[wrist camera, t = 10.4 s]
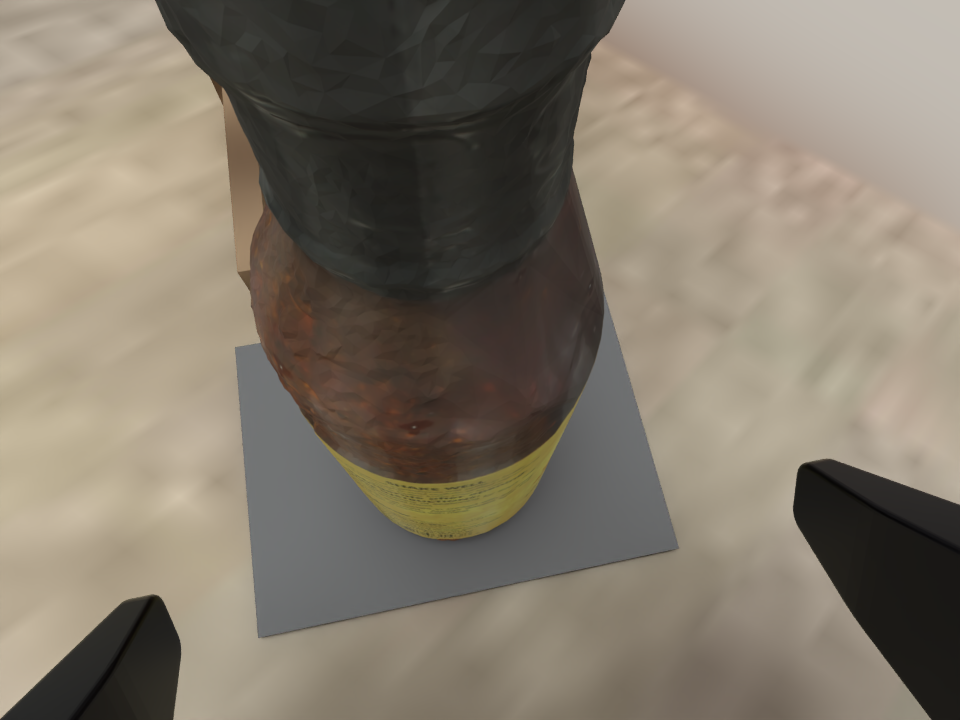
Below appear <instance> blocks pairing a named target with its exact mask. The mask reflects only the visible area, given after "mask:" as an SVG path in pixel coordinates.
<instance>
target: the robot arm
mask: <svg viewBox="0 0 960 720" xmlns="http://www.w3.org/2000/svg"><path fill="white" fill-rule="evenodd" d="M793 513H794V518H795V521H796V523H797V525H798V527H799V529H800V531H801V532H802V534H803V535H804V537H805V539H806V540H807V542H808V544H809V545H810V547H811V549H812V550H813V552H814V553H815V555H816V557H817V558H818V560H819V562H820V563H821V565H822V566H823V568H824V570H825V571H826V573H827V575H828V576H829V578H830V579H831V581H832V583H833V584H834V586H835V588H836V589H837V591H838V593H839V594H840V596H841V597H842V599H843V601H844V602H845V604H846V605H847V607H848V608H849V610H850V611H851V613H852V614H853V616H854V617H855V619H856V620H857V621H858V623H859V624H860V626H861V627H862V628H863V630H864V631H865V633H866V634H867V635H868V636H869V638H870V639H871V640H872V642H873V643H874V644H875V646H876V647H877V648H878V650H879V651H880V652H881V654H882V655H883V656H884V658H885V659H886V660H887V662H888V663H889V664H890V666H891V667H892V668H893V669H894V671H895V672H896V673H897V675H898V676H899V677H900V679H901V680H902V681H903V683H904V684H905V685H906V687H907V688H908V689H909V691H910V692H911V693H912V695H913V696H914V697H915V699H916V700H917V701H918V702H919V704H920V705H921V706H922V708H923V709H924V710H925V712H926V713H927V714H928V716H929V717H930V718H931V720H960V505H959V504H956V503H953V502H950V501H947V500H945V499H942V498H939V497H936V496H933V495H931V494H928V493H925V492H922V491H919V490H917V489H914V488H911V487H908V486H905V485H903V484H900V483H897V482H894V481H891V480H889V479H886V478H883V477H880V476H877V475H875V474H872V473H869V472H866V471H863V470H861V469H858V468H855V467H852V466H849V465H847V464H844V463H841V462H838V461H835V460H832V459H821V460H816V461H811V462H806V463H804V464H802V465H801V466H800V467H799V469H798V472H797V479H796V487H795V496H794V504H793ZM180 661H181V643H180V639H179V636H178V634H177V631H176V629H175V627H174V624H173V622H172V620H171V618H170V615H169V613H168V611H167V608H166V606H165V604H164V602H163V600H162V599H161V598H160V597H159V596H157V595H147V596H142V597H137V598H132V599H128V600H126V601H124V602H122V603H121V604H120V605H119V606H118V607H117V608H115V609H114V610H113V611H112V612H111V613H110V614H109V615H108V616H107V617H106V618H105V619H104V620H103V621H102V622H101V623H100V624H99V625H98V626H97V627H96V628H95V629H94V630H93V631H91V632H90V633H89V634H88V635H87V636H86V637H85V638H84V639H83V640H82V641H81V642H80V643H79V644H78V645H77V646H76V647H75V648H74V649H73V650H72V651H71V652H70V653H69V654H68V655H66V656H65V657H64V658H63V659H62V660H61V661H60V662H59V663H58V664H57V665H56V666H55V667H54V668H53V669H52V670H51V671H50V672H49V673H48V674H47V675H46V676H45V677H44V678H42V679H41V680H40V681H39V682H38V683H37V684H36V685H35V686H34V687H33V688H32V689H31V690H30V691H29V692H28V693H27V694H26V695H25V696H24V697H23V698H22V699H21V700H20V701H19V702H17V703H16V704H15V705H14V706H13V707H12V708H11V709H10V710H9V711H8V712H7V713H6V714H5V715H4V716H3V717H2V718H1V719H0V720H173V717H174V709H175V701H176V693H177V685H178V677H179V669H180Z"/></svg>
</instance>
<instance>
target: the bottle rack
mask: <svg viewBox="0 0 960 720" xmlns="http://www.w3.org/2000/svg"><path fill="white" fill-rule="evenodd" d="M210 78H211V77H210ZM211 80H212V83H213V85H214V87H215V89H216V91H217V93H218V95H219V98H220V100H221V102H222V104H223V107H224V119H225V131H226V142H227V154H228V166H229V178H230V190H231V202H232V213H233V225H234V237H235V249H236V261H237V272H238V274H239V275H240V277H241V278H242V280H243V281H244V283H245V284H246V286H247V287H248V289H249V290H250V289H251V288H250V270H251V269H250V246H251V242H252V237H253V233H254V231H255V228H256V226H257V224H258V222H259V220H260V218H261V216H262V213H263V211H264V208H265V205H266V202H265V199H264V196H263V193H262V190H261V188H260V185H259V171H260V165H259V164H258V162H257V160H256V158H255V155H254V153H253V150H252V148H251V146H250V143H249V141H248V139H247V137H246V136H245V133H244V131H243V129H242V127H241V125H240V123H239V121H238V119H237V116H236V114H235V112H234V109H233V107H232V104H231V102H230V99H229V97H228V95H227V93H226V92H225V90H224V88H223V87H221V86H220V85H219V84H218V83H217V82H215V81H214V80H213V79H212V78H211Z"/></svg>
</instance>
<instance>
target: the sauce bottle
mask: <svg viewBox="0 0 960 720" xmlns="http://www.w3.org/2000/svg"><path fill="white" fill-rule="evenodd" d="M155 1H156V3H157V6H158V8H159V10H160V12H161V15H162V17H163V19H164V21H165V24H166V26H167V28H168V30H169V31H170V32H171V33H172V34H173V35H174V36H175V37H176V38H177V39H178V40H179V42H180V43H181V44H182V45H183V46H184V47H185V49H186V50H187V52H188V53H189V55H190V56H191V58H192V59H193V61H194V62H195V64H196V65H197V66H198V67H200V68H201V69H202V70H203V71H204V72H205V73H206V74H207V75H208V76H210V77H211V78H212V79H213V80H214V81H215V82H217V83H218V84H219V85H220V86H221V87H223V88H224V90H225V92H226V93H227V95H228V97H229V99H230V102H231V104H232V107H233V109H234V112H235V114H236V116H237V119H238V121H239V123H240V125H241V127H242V129H243V131H244V133H245V136H246V137H247V139H248V141H249V143H250V146H251V148H252V150H253V153H254V155H255V158H256V160H257V162H258V164H259V165H260V171H259V185H260V188H261V190H262V193H263V196H264V199H265V202H266V205H265V208H264V211H263V213H262V216H261V218H260V220H259V222H258V224H257V226H256V228H255V231H254V233H253V237H252V242H251V246H250V269H251V270H250V288H251V289H250V294H251V307H252V309H253V312H254V317H255V322H256V328H257V332H258V335H259V337H260V341H261V346H262V348H263V350H264V352H265V354H266V356H267V359H268V360H269V361H270V363H271V365H272V367H273V368H274V369H275V371H276V372H277V375H278V377H279V380H280V382H281V383H282V385H283V387H284V389H286V390H287V391H288V392H289V393H290V394H291V396H292V397H293V399H294V401H295V402H296V404H298V407H299V409H300V411H301V413H302V415H303V416H304V417H305V419H306V420H307V421H308V423H309V424H310V425H311V426H312V428H313V429H314V432H315V434H316V435H317V436H318V437H319V439H320V440H321V441H322V442H323V444H324V445H325V446H326V447H327V449H328V450H329V451H330V452H331V453H332V455H333V456H334V457H335V458H336V459H337V461H338V462H339V463H340V464H341V465H342V467H343V468H344V469H345V470H346V472H347V473H348V474H349V475H350V477H351V478H352V479H353V480H354V481H355V483H356V484H357V485H358V487H359V488H360V489H361V490H362V491H363V493H364V494H365V495H366V496H367V497H368V498H369V500H370V501H371V502H372V503H373V504H374V505H375V506H376V507H377V508H378V510H379V511H380V512H381V513H382V514H384V515H385V516H386V517H387V518H388V519H390V520H391V521H392V522H393V523H395V524H397V525H399V526H400V527H402V528H404V529H405V530H407V531H409V532H412V533H414V534H417V535H419V536H422V537H426V538H432V539H437V540H441V541H444V540H450V541H456V540H459V539H462V538H467V537H472V536H475V535H479V534H482V533H486V532H488V531H490V530H492V529H493V528H495V527H497V526H499V525H500V524H502V523H504V522H506V521H507V520H509V519H510V518H511V517H512V516H514V515H515V514H516V513H517V512H518V511H519V510H520V509H521V508H522V507H523V506H524V504H525V503H526V502H527V501H528V499H529V498H530V497H531V495H532V494H533V492H534V490H535V489H536V487H537V485H538V483H539V481H540V479H541V477H542V475H543V473H544V471H545V469H546V467H547V465H548V462H549V460H550V458H551V456H552V454H553V452H554V450H555V448H556V446H557V444H558V442H559V440H560V438H561V436H562V434H563V432H564V430H565V428H566V426H567V424H568V422H569V420H570V418H571V416H572V414H573V411H574V409H575V407H576V405H577V403H578V400H579V398H580V396H581V394H582V392H583V390H584V388H585V385H586V383H587V380H588V378H589V376H590V373H591V371H592V368H593V366H594V363H595V360H596V356H597V352H598V349H599V345H600V341H601V336H602V328H603V319H604V289H603V283H602V277H601V272H600V268H599V264H598V261H597V257H596V253H595V249H594V246H593V242H592V238H591V234H590V231H589V227H588V223H587V220H586V216H585V212H584V209H583V205H582V201H581V198H580V194H579V190H578V187H577V183H576V179H575V176H574V172H573V168H572V164H573V150H574V139H573V136H574V129H575V126H576V122H577V117H578V111H579V106H580V102H581V97H582V92H583V87H584V85H585V82H586V75H587V69H588V66H589V63H590V60H591V52H592V50H593V49H594V48H595V46H596V45H597V44H598V42H599V41H600V40H601V39H602V38H603V37H605V35H607V34H608V33H609V31H610V29H611V28H612V26H613V24H614V22H615V20H616V18H617V16H618V14H619V12H620V10H621V8H622V6H623V4H624V2H625V0H155Z"/></svg>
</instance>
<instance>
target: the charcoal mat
mask: <svg viewBox="0 0 960 720" xmlns="http://www.w3.org/2000/svg"><path fill="white" fill-rule="evenodd" d="M235 352H236V364H237V377H238V389H239V402H240V415H241V427H242V440H243V452H244V465H245V477H246V490H247V502H248V515H249V527H250V540H251V553H252V565H253V578H254V590H255V603H256V615H257V628H258V638H260V637H265V636H270V635H275V634H279V633H284V632H289V631H293V630H298V629H303V628H307V627H312V626H317V625H321V624H326V623H331V622H336V621H340V620H345V619H350V618H354V617H359V616H364V615H368V614H373V613H378V612H382V611H387V610H392V609H397V608H401V607H406V606H411V605H415V604H420V603H425V602H429V601H434V600H439V599H443V598H448V597H453V596H457V595H462V594H467V593H472V592H476V591H481V590H486V589H490V588H495V587H500V586H504V585H509V584H514V583H518V582H523V581H528V580H533V579H537V578H542V577H547V576H551V575H556V574H561V573H565V572H570V571H575V570H579V569H584V568H589V567H594V566H598V565H603V564H608V563H612V562H617V561H622V560H626V559H631V558H636V557H640V556H645V555H650V554H655V553H659V552H664V551H669V550H673V549H678V548H679V547H678V543H677V540H676V536H675V533H674V529H673V526H672V523H671V519H670V516H669V512H668V509H667V506H666V502H665V499H664V495H663V492H662V488H661V485H660V482H659V478H658V475H657V471H656V468H655V465H654V461H653V458H652V454H651V451H650V447H649V444H648V441H647V437H646V434H645V430H644V427H643V424H642V420H641V417H640V413H639V410H638V406H637V403H636V400H635V396H634V393H633V389H632V386H631V383H630V379H629V376H628V372H627V369H626V365H625V362H624V359H623V355H622V352H621V348H620V345H619V341H618V338H617V335H616V331H615V328H614V324H613V321H612V318H611V314H610V311H609V307H608V304H607V300H606V297H605V294H604V319H603V328H602V336H601V341H600V345H599V349H598V352H597V356H596V360H595V363H594V366H593V368H592V371H591V373H590V376H589V378H588V380H587V383H586V385H585V388H584V390H583V392H582V394H581V396H580V398H579V400H578V403H577V405H576V407H575V409H574V411H573V414H572V416H571V418H570V420H569V422H568V424H567V426H566V428H565V430H564V432H563V434H562V436H561V438H560V440H559V442H558V444H557V446H556V448H555V450H554V452H553V454H552V456H551V458H550V460H549V462H548V465H547V467H546V469H545V471H544V473H543V475H542V477H541V479H540V481H539V483H538V485H537V487H536V489H535V490H534V492H533V494H532V495H531V497H530V498H529V499H528V501H527V502H526V503H525V504H524V506H523V507H522V508H521V509H520V510H519V511H518V512H517V513H516V514H515V515H514V516H512V517H511V518H510V519H509V520H507V521H506V522H504V523H502V524H500V525H499V526H497V527H495V528H493V529H492V530H490V531H488V532H486V533H482V534H479V535H475V536H472V537H467V538H462V539H459V540H456V541H450V540H444V541H441V540H437V539H432V538H426V537H422V536H419V535H417V534H414V533H412V532H409V531H407V530H405V529H404V528H402V527H400V526H399V525H397V524H395V523H393V522H392V521H391V520H390V519H388V518H387V517H386V516H385V515H384V514H382V513H381V512H380V511H379V510H378V508H377V507H376V506H375V505H374V504H373V503H372V502H371V501H370V500H369V498H368V497H367V496H366V495H365V494H364V493H363V491H362V490H361V489H360V488H359V487H358V485H357V484H356V483H355V481H354V480H353V479H352V478H351V477H350V475H349V474H348V473H347V472H346V470H345V469H344V468H343V467H342V465H341V464H340V463H339V462H338V461H337V459H336V458H335V457H334V456H333V455H332V453H331V452H330V451H329V450H328V449H327V447H326V446H325V445H324V444H323V442H322V441H321V440H320V439H319V437H318V436H317V435H316V434H315V432H314V429H313V428H312V426H311V425H310V424H309V423H308V421H307V420H306V419H305V417H304V416H303V415H302V413H301V411H300V409H299V407H298V404H296V402H295V401H294V399H293V397H292V396H291V394H290V393H289V392H288V391H287V390H286V389H284V387H283V385H282V383H281V382H280V380H279V377H278V375H277V372H276V371H275V369H274V368H273V367H272V365H271V363H270V361H269V360H268V359H267V356H266V354H265V352H264V350H263V348H262V346H261V343H258V344H252V345H246V346H240V347H235Z"/></svg>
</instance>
